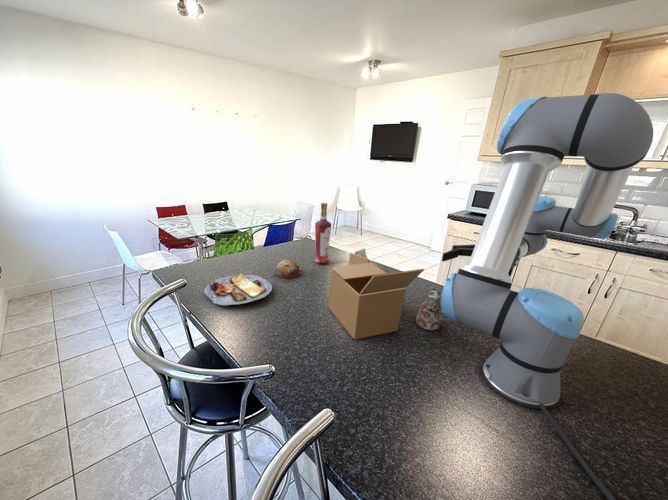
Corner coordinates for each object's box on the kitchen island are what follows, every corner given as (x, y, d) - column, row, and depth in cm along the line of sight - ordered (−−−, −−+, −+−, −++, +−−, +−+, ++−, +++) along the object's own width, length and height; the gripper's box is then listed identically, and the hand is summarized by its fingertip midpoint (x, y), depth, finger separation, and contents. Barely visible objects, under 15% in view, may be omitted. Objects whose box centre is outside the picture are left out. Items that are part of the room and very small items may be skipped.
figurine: (416, 328, 92) (424, 294, 87) (414, 316, 98) (421, 283, 93) (441, 331, 90) (450, 297, 85) (437, 319, 96) (445, 286, 92)
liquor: (321, 258, 145) (324, 201, 133) (332, 263, 140) (336, 203, 128) (310, 261, 140) (312, 202, 129) (321, 266, 135) (324, 205, 124)
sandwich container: (387, 284, 119) (393, 250, 113) (363, 296, 110) (368, 259, 104) (370, 278, 125) (374, 244, 119) (346, 288, 116) (349, 252, 110)
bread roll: (276, 277, 132) (269, 264, 127) (295, 265, 133) (288, 251, 129) (285, 287, 123) (277, 272, 119) (305, 274, 125) (298, 259, 121)
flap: (405, 286, 84) (406, 287, 84) (359, 293, 79) (360, 294, 79) (423, 268, 76) (424, 269, 76) (373, 275, 72) (374, 276, 71)
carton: (397, 330, 90) (406, 286, 84) (354, 339, 86) (359, 293, 79) (366, 301, 106) (371, 262, 100) (328, 307, 102) (331, 267, 96)
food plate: (196, 288, 113) (195, 279, 112) (250, 274, 126) (250, 266, 125) (222, 317, 95) (221, 307, 94) (282, 297, 108) (282, 288, 107)
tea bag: (350, 271, 131) (352, 250, 126) (359, 267, 135) (361, 247, 131) (356, 274, 128) (359, 252, 124) (365, 270, 133) (368, 249, 128)
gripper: (544, 276, 88) (497, 295, 81) (471, 248, 108) (428, 261, 101) (553, 253, 85) (505, 271, 77) (475, 228, 105) (431, 240, 97)
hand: (461, 265), depth 89 cm, fingers open, 13 cm apart
